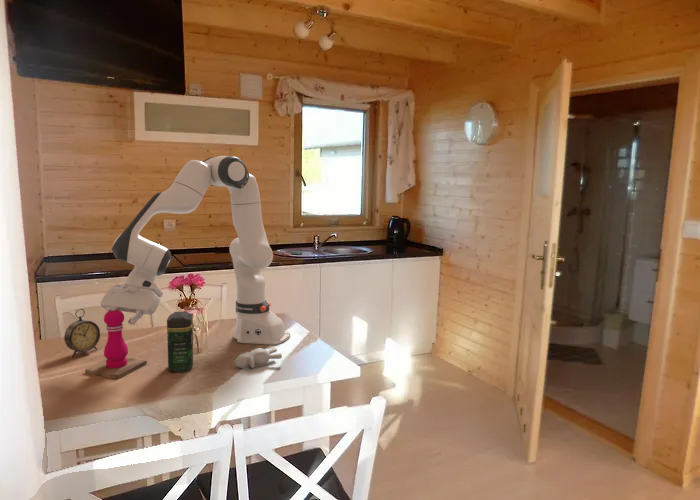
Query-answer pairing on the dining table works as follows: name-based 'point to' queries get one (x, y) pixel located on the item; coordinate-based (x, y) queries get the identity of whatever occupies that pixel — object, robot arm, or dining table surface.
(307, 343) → the dining table surface
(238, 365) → the bunny figurine
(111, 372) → the walnut board
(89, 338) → the alarm clock
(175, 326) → the coffee jar
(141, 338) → the dining table surface
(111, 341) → the pepper mill
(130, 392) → the dining table surface
